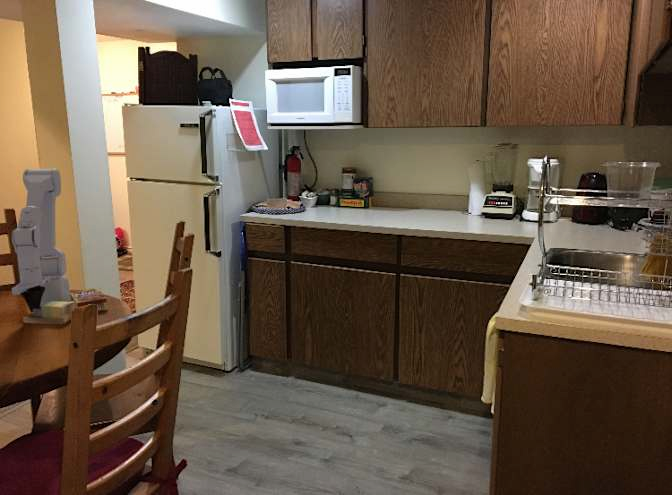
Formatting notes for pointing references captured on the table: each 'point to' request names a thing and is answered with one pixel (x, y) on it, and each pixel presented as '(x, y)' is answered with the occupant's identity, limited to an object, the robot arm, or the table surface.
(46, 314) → the olive book
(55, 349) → the table surface
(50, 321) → the tan l-frame
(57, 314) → the yellow thick square block
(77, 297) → the candy box
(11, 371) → the table surface
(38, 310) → the bookend
